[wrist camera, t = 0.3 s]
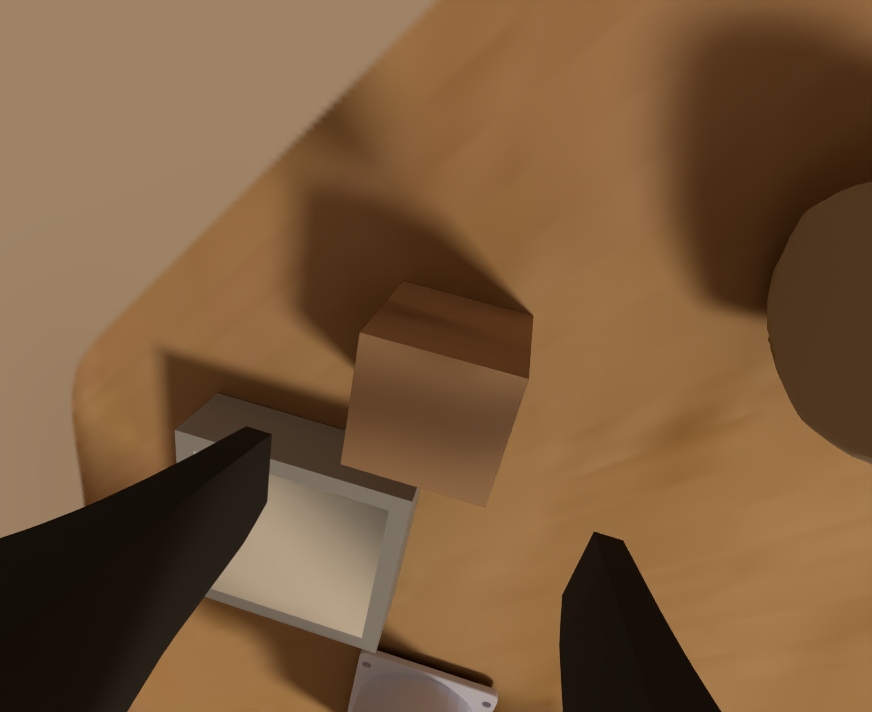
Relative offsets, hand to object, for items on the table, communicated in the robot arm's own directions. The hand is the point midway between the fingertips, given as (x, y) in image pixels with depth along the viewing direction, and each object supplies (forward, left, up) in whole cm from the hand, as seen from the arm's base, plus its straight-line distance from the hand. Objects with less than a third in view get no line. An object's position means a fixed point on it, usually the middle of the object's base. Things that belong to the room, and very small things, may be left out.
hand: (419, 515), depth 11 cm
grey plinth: (-11, +6, -9) cm, 16 cm away
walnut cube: (-1, +1, -10) cm, 10 cm away
